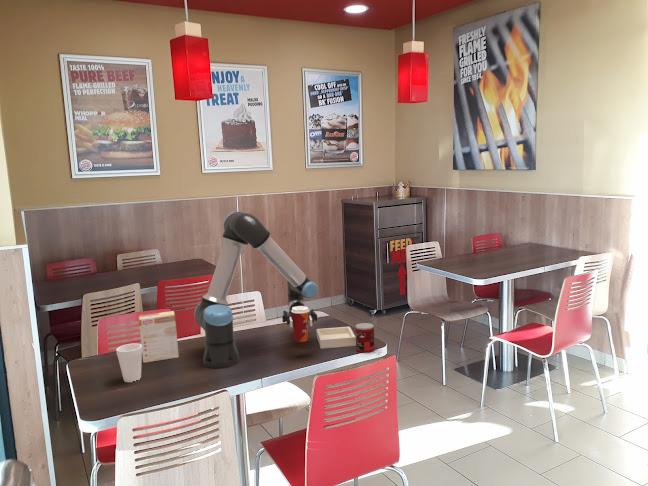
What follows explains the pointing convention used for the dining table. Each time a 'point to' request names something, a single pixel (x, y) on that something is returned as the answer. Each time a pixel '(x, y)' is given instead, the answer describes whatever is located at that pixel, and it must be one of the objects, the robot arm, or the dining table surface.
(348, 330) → the tray
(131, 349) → the foam cup
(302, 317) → the paper cup
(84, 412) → the dining table surface
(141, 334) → the coffeecake box
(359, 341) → the canned food
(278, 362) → the dining table surface
